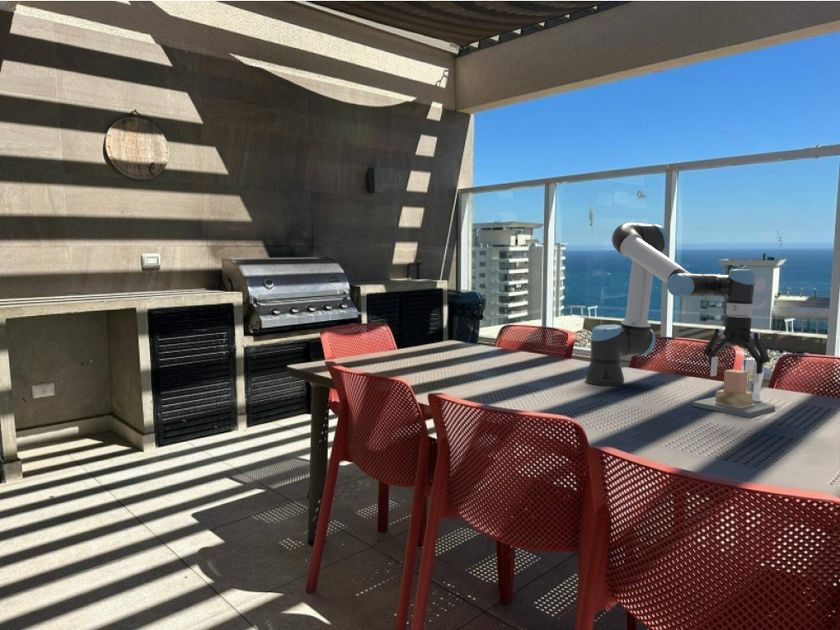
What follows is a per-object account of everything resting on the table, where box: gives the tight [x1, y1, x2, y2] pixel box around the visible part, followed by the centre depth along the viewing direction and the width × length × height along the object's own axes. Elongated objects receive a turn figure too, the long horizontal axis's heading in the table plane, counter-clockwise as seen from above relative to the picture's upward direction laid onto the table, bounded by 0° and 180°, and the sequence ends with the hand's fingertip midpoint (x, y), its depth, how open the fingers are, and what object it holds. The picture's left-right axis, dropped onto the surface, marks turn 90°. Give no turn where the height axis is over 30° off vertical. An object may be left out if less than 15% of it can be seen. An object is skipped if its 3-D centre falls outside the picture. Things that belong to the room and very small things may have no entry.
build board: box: [692, 396, 776, 419], centre depth 189 cm, size 18×18×2 cm
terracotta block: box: [722, 369, 747, 394], centre depth 189 cm, size 5×5×7 cm
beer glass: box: [740, 356, 765, 403], centre depth 202 cm, size 7×7×15 cm
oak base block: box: [715, 389, 752, 407], centre depth 189 cm, size 8×8×4 cm
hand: (733, 379), depth 189 cm, fingers open, 13 cm apart
